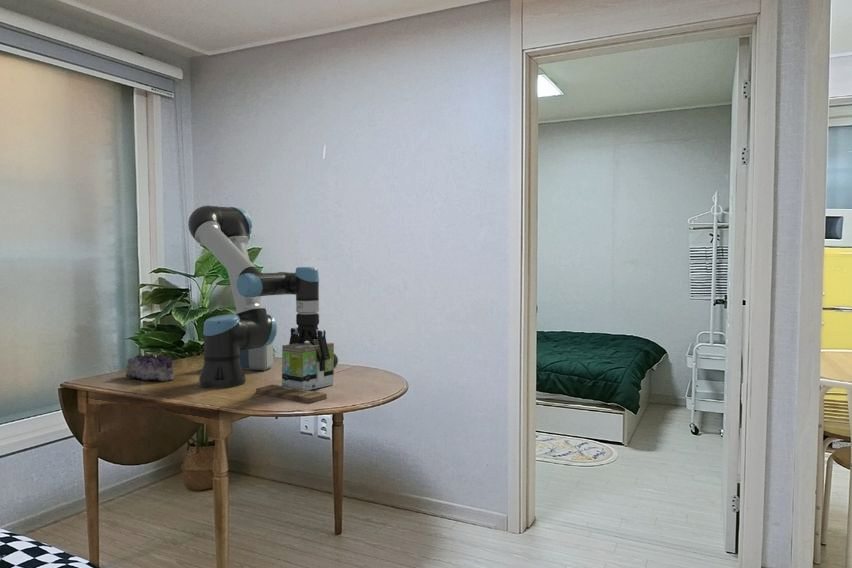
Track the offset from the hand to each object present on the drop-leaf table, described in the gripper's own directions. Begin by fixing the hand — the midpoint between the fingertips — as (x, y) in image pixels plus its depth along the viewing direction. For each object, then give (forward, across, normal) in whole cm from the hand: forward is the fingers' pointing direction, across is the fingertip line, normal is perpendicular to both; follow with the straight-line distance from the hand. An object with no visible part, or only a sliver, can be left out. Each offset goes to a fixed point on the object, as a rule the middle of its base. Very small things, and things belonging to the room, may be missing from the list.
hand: (308, 378), depth 200 cm
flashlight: (+3, -19, +26) cm, 32 cm away
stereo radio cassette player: (+3, -44, +11) cm, 46 cm away
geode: (+3, -58, -20) cm, 61 cm away
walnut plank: (+3, +4, -12) cm, 13 cm away
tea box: (+3, 0, 0) cm, 3 cm away
